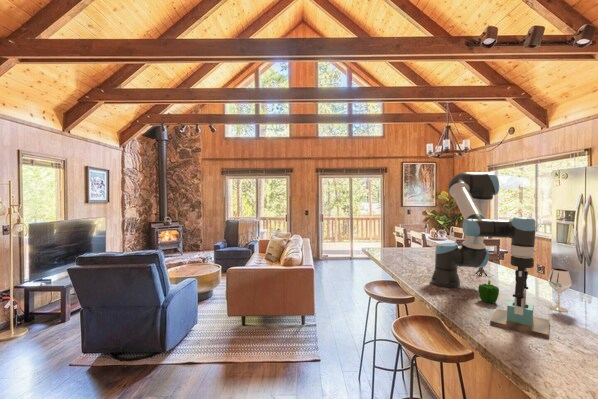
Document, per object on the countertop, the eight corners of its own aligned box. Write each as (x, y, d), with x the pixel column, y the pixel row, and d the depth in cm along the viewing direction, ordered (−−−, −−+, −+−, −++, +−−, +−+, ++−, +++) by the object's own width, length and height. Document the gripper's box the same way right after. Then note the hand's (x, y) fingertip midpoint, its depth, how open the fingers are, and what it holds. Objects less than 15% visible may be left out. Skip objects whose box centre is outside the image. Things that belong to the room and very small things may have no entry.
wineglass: (565, 313, 136) (566, 272, 136) (543, 307, 144) (544, 268, 143) (574, 310, 140) (575, 271, 140) (552, 304, 147) (553, 267, 147)
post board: (490, 324, 123) (491, 291, 123) (496, 311, 137) (497, 282, 136) (548, 338, 111) (549, 302, 111) (549, 323, 125) (550, 291, 125)
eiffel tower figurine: (467, 275, 201) (468, 255, 201) (467, 272, 210) (467, 252, 210) (495, 279, 194) (496, 257, 194) (493, 275, 203) (494, 255, 203)
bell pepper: (493, 305, 144) (493, 284, 144) (475, 300, 151) (475, 280, 151) (502, 302, 149) (502, 282, 148) (484, 297, 156) (485, 278, 155)
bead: (506, 320, 124) (507, 305, 123) (509, 314, 130) (509, 300, 130) (531, 326, 118) (532, 310, 118) (533, 319, 125) (533, 305, 124)
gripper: (532, 263, 112) (529, 321, 112) (535, 253, 131) (533, 303, 131) (507, 259, 116) (505, 315, 117) (514, 250, 136) (512, 299, 136)
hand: (520, 309), depth 124 cm, fingers open, 13 cm apart
